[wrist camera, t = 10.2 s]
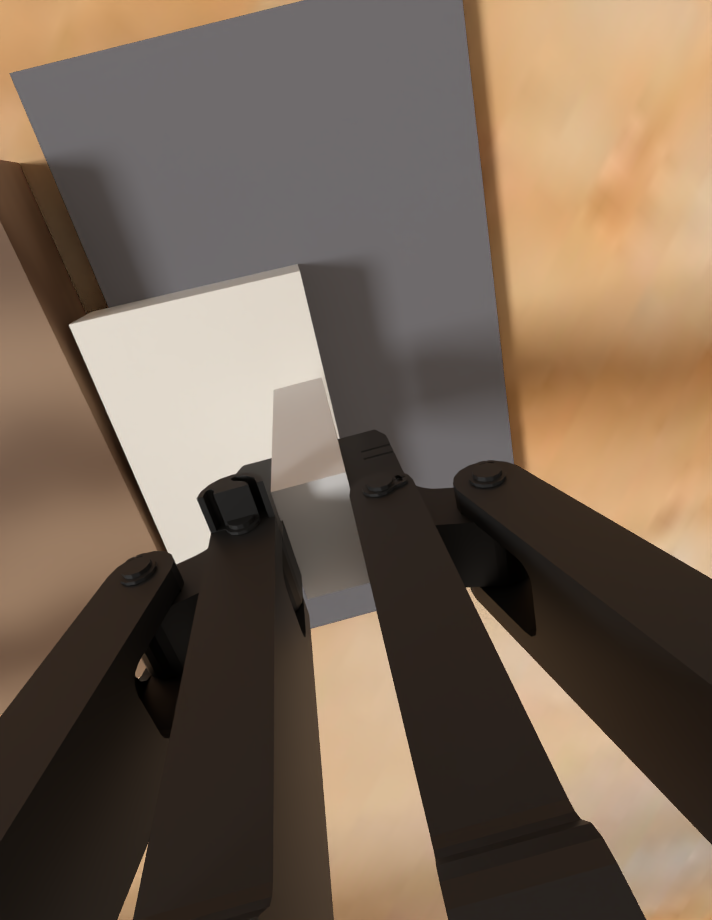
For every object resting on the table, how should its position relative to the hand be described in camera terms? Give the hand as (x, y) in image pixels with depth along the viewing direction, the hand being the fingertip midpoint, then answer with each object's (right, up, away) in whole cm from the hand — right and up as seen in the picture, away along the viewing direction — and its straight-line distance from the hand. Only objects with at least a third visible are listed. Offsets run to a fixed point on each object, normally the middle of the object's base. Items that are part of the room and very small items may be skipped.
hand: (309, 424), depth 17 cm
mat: (0, +2, +4) cm, 4 cm away
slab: (-3, +1, +3) cm, 5 cm away
